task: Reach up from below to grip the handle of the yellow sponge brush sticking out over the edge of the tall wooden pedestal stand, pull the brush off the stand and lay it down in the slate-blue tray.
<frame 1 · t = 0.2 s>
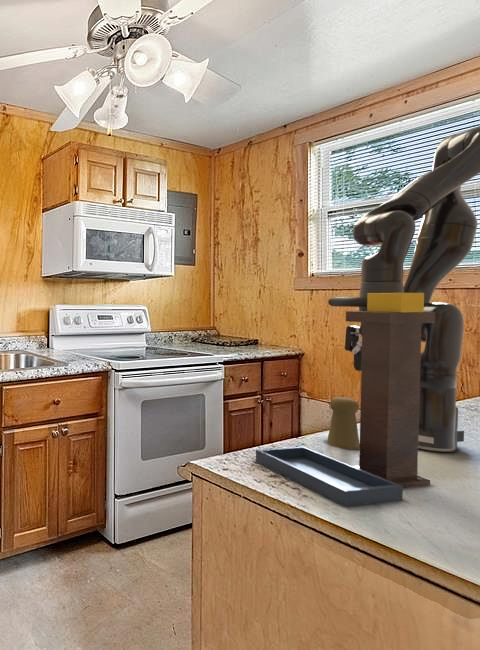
hand: (379, 373, 96), 17 cm above the counter, tool pointing down, fingers open, 8 cm apart
sponge brush: (394, 311, 79), point 32 cm above the counter, touching wooden pedestal stand
wooden pedestal stand: (384, 478, 81), on the counter
cork: (343, 445, 100), on the counter
tray: (321, 478, 81), on the counter
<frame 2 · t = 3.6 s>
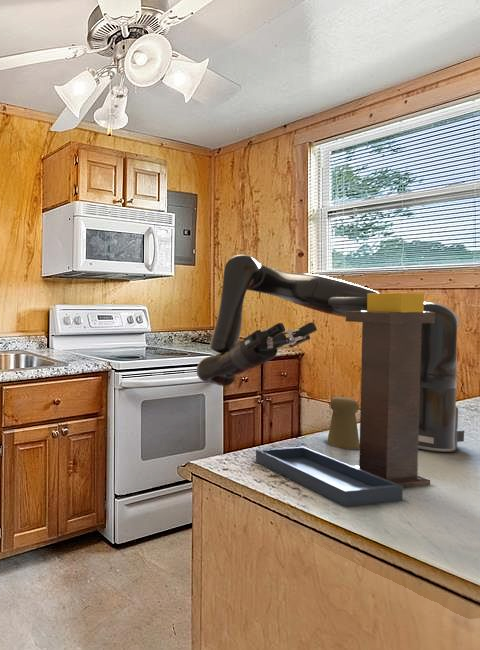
hand: (298, 326, 100), 28 cm above the counter, tool pointing upward, fingers open, 8 cm apart
nothing on the counter moved.
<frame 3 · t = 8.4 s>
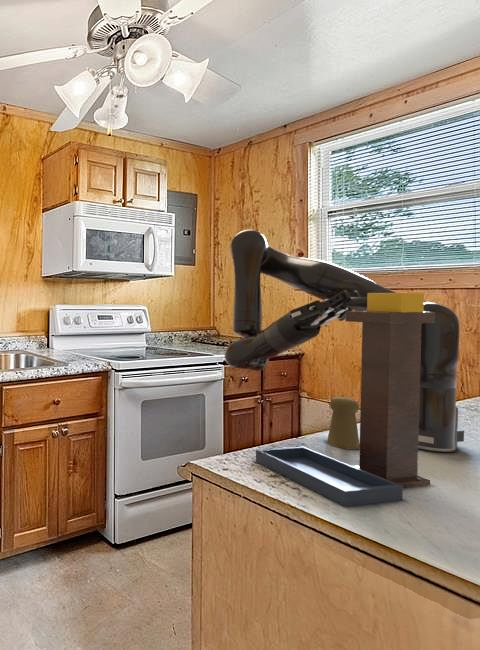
hand: (352, 294, 87), 35 cm above the counter, tool pointing upward, fingers closed on sponge brush, 2 cm apart
sponge brush: (394, 311, 79), point 32 cm above the counter, touching gripper, wooden pedestal stand
everything else where it was.
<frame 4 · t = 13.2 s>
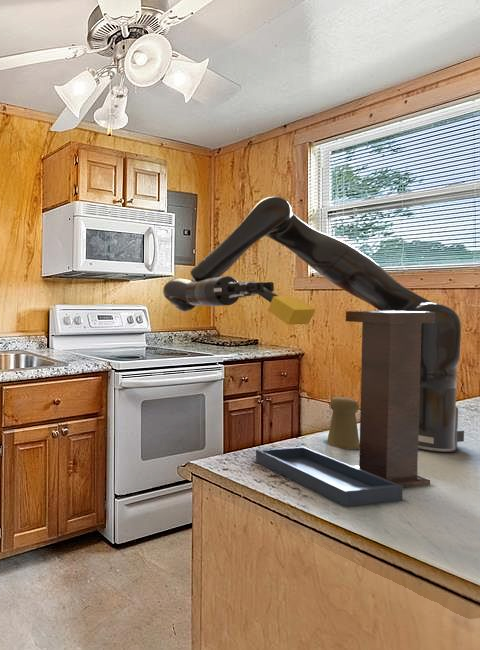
hand: (267, 286, 95), 37 cm above the counter, tool horizontal, fingers closed on sponge brush, 2 cm apart
sponge brush: (287, 317, 90), point 31 cm above the counter, tilted 27°, touching gripper
everything else where it was.
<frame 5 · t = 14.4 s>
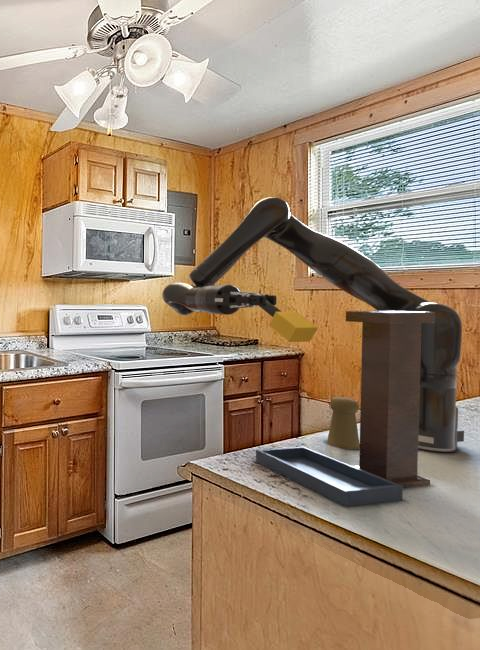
hand: (269, 300, 93), 34 cm above the counter, tool horizontal, fingers closed on sponge brush, 2 cm apart
sponge brush: (288, 333, 88), point 27 cm above the counter, tilted 30°, touching gripper
everything else where it was.
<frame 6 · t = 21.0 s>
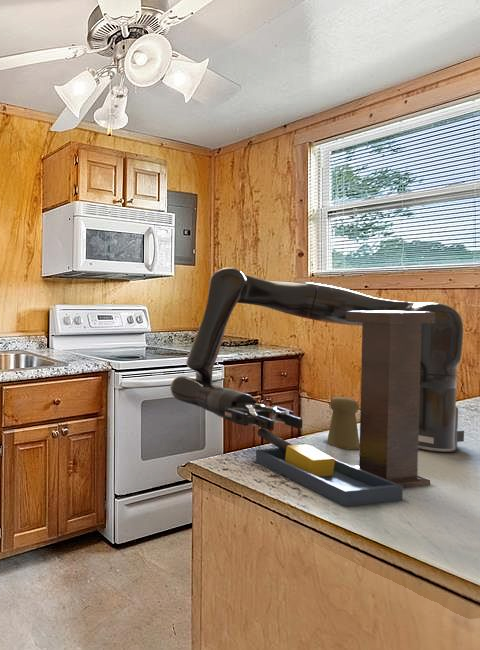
hand: (286, 424, 89), 8 cm above the counter, tool horizontal, fingers open, 6 cm apart
sponge brush: (307, 468, 84), point 1 cm above the counter, tilted 8°, touching tray
everything else where it was.
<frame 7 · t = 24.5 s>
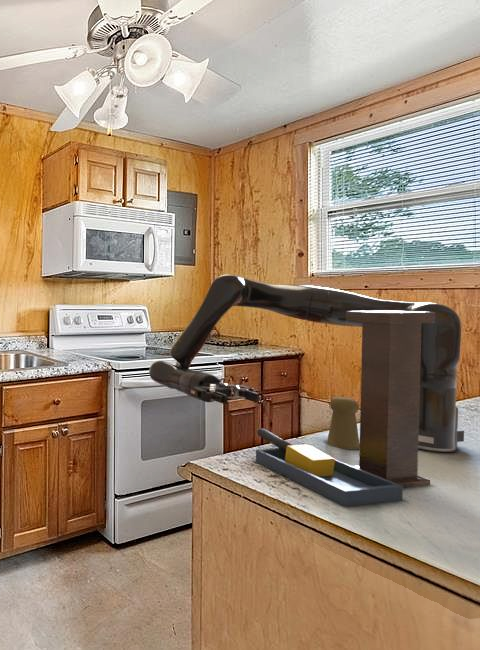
hand: (242, 398, 102), 10 cm above the counter, tool horizontal, fingers open, 8 cm apart
nothing on the counter moved.
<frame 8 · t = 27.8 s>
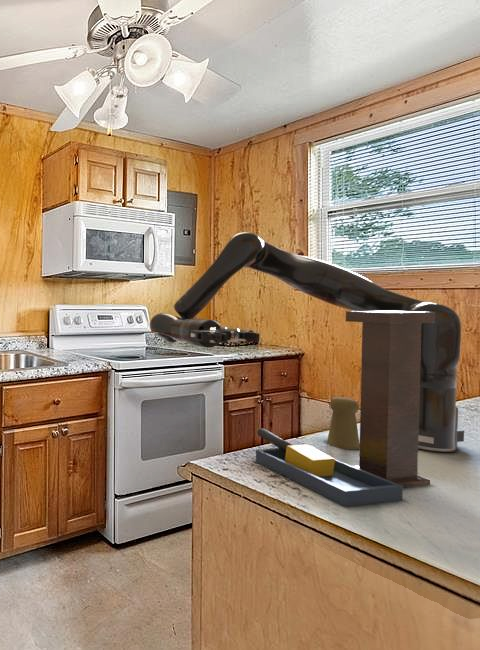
hand: (242, 338, 101), 25 cm above the counter, tool horizontal, fingers open, 8 cm apart
nothing on the counter moved.
at the end: sponge brush inside the target area on the tray (2.8 cm from its centre), point 0.9 cm above the tray's base; the gripper is holding nothing; sponge brush moved 33.9 cm from its start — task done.
